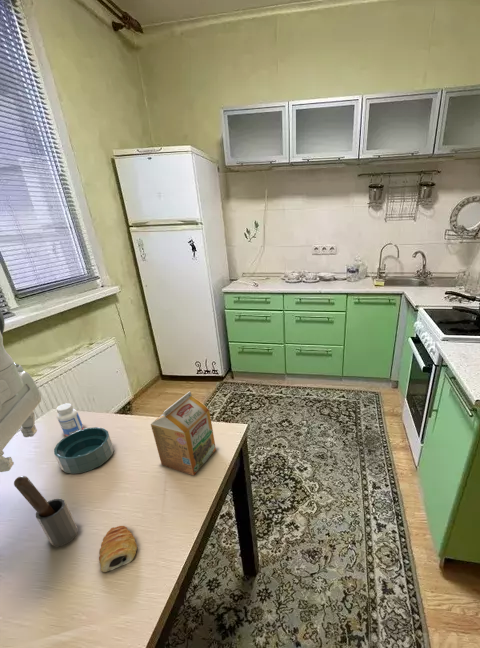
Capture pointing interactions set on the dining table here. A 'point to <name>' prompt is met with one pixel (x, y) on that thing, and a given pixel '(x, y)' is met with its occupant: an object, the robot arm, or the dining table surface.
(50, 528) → the holder
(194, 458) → the milk carton
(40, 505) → the stick
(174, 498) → the dining table surface
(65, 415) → the pill bottle
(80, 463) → the bowl
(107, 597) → the dining table surface
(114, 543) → the pastry
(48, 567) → the dining table surface
